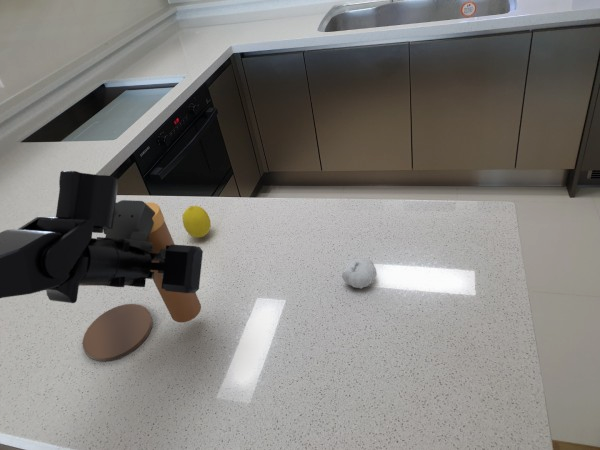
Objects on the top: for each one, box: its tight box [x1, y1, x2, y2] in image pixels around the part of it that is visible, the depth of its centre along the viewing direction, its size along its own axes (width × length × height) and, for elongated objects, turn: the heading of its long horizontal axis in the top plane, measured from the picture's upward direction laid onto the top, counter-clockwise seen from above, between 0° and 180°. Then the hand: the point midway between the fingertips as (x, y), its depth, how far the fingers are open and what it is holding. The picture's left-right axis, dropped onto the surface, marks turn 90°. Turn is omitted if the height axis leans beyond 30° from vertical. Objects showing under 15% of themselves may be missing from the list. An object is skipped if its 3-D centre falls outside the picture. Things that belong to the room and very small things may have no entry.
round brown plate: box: [82, 303, 153, 362], centre depth 81 cm, size 12×12×1 cm
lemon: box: [182, 205, 212, 238], centre depth 97 cm, size 6×6×8 cm
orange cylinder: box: [145, 202, 202, 324], centre depth 70 cm, size 5×5×20 cm
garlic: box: [341, 257, 378, 289], centre depth 79 cm, size 6×5×5 cm
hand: (173, 266), depth 71 cm, fingers closed on orange cylinder, 5 cm apart
